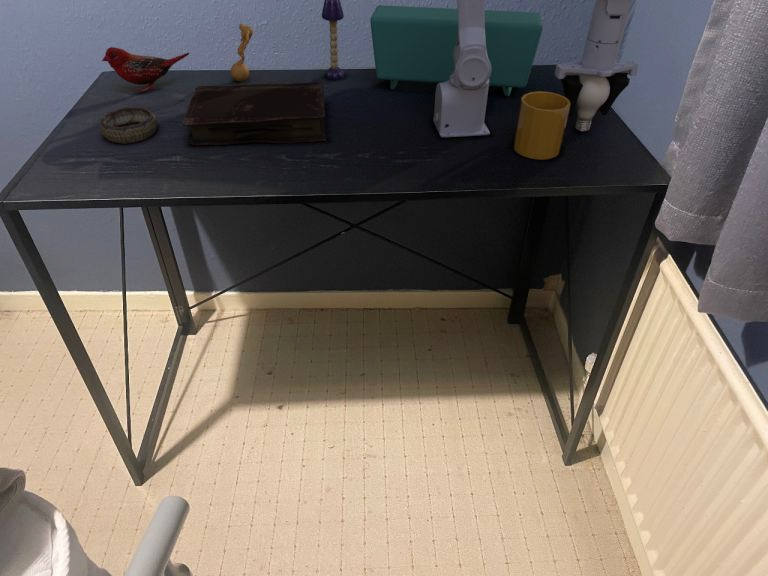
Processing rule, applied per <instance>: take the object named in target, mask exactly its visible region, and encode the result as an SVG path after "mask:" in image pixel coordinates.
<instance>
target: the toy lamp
mask: <svg viewBox="0 0 768 576" xmlns="http://www.w3.org/2000/svg"><path fill="white" fill-rule="evenodd" d="M344 17H345V14H344V10H343V7H342V3H341V0H324V1H323V6H322V11H321V18H322V19H323V20H324V21H328V24H329V32H330V33H329V39H330V40H329V47H330V49H329V52H330V57H329V59H330V67H329V68H328V69H327V70H326V72H325V78H326V79H328V80H333V81H334V80H335V81H336V80H342V79H343V78H345V73H344V70H343V69H342V68H340V67H339V63H338V61H339V56H338V54H339V49H338V45H339V42H338V37H339V35H338V21H341V20H343V19H344Z"/></svg>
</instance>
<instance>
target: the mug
mask: <svg viewBox="0 0 768 576" xmlns="http://www.w3.org/2000/svg"><path fill="white" fill-rule="evenodd" d="M570 105H571V103H570V101H569V99H567V98H566V97H565V95H562V94H560V93H557V92H556V93H555V92H550V91H541V90H540V91H539V90H538V91H530V92H528V93H525V94H523V95H522V97H521V98H520V103H519V109H518V116H517V122H516V127H515V133H514V138H513V139H514V140H513V149H514V151H515V152H516V153H517V154H519V155H520V156H522V157H525V158H528V159H532V160H540V161H541V160H542V161H543V160H550V159H553V158H556V157H557V156H559V154H560V151H561V149H562V144H563V140H564V136H565V132H566V127H567V124H568V123H567V122H568V118H569V117H568V114H569V110H570Z"/></svg>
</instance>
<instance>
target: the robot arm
mask: <svg viewBox="0 0 768 576" xmlns="http://www.w3.org/2000/svg"><path fill="white" fill-rule="evenodd" d="M632 2H633V0H595V3H594V6H593V9H592V10H593V11H592V14H591V20H590V22H589V26H588V27H589V28H588V33H587V37H586V40H585V45H584V48H583V53H582V54H583V55H582V58H581V59H580V60H576V61H570V62H565V63H558V64H556V66H555V72H554V76H555V77H556V78H557V79H558V80H560V82H561V85H562V89H563V93H564V95H563V96H564V97H566V98H567V99H569V101H570V103H571V105H570V110H569V114H568V118H573V116H574V114H575V111H576V108H577V104H576V102H577V99H578V96H579V93H580V91H581V89H582V87H583V85H582V84H581V83H580V79H579V78H580V77H582V76H591V75H599V76H602V77H606V78H607V80H608V81H609V84H610V94H609V96H608V98H607V100H606V101H605V103H604V104H603V105H602V106H600V107H599V108H598V112H599V113H600V114H601V115H602V116H607V115H608V113H609V111H610V110H611V107H612V106H613V105H614V103H615V101H616V100H617V98H618V97H619V96H620V95H621V93H622V92H623V91H624V90H626V88H628V86H630V82H631V79H630V78H629V77H628V75H629V76H631V77H633V76H637V73H638V69H639V66H640V65H639V64H638V63H637V62H636V61H634V60H618V59H617V58H618V54H619V52H620V49H621V48H620V47H621V45H622V41H623V38H624V33H625V29H626V25H627V21H628V19H629V14H630V10H631V5H632ZM456 5H457V7H456V9H457V11H458V30H457V36H458V37H457V43H456V45H455V47H454V50H453V60H454V65H455V71H454V72H453V73H452V75H451V76H450V80H448V81H446V82H442V83H436V88H435V96H434V108H433V109H434V112H433V118H432V122H433V123H434V126H435V128H436V130H437V132H438V134H439V137H440V138H457V137H459V138H460V137H473V136H474V137H478V136H489V135H490V134H491V132H490V130H489V128H488V127H487V125H486V123H485V118H486V110H487V104H488V103H487V102H488V94H489V87H490V86H489V77H490V75H491V63H490V61H489V59H488V55H487V48H486V40H485V10H486V6H485V5H486V0H456Z"/></svg>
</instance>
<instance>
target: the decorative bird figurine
mask: <svg viewBox="0 0 768 576" xmlns="http://www.w3.org/2000/svg"><path fill="white" fill-rule="evenodd" d="M189 55H191V54H190V52H186V53H183V54H181V55H180V54H179V55H177V56H174V57H172V58H169V59H166V58H162V57H158V56H152V55H151V56H150V55H141V54H140V55H139V54H132V53H130V52H128V51H126V50H125V49H123V48H119V47H114V46H111V47H108V48H107V49H106V51H105V55H104V56H103V58H102V60H101V61H102V62H107V63H108V65H109V66H110V68H111V69H113V70H114V72H115V73H116V75H118V76H119V77H120V78H121V79H122V80H124V81H126V82H127V83H129V84H133V85H141V86H142V85H143V86H145V85H147V86H145V87H143V88H140V89H139V90H135V91H133V92H132V93H141V94H143V93H145V92H148V91H154V90H155V89H158V87H157V86H154V84H155V82H156V81H158V80H159V79H160V78H162V77H164V76H165V75H166V74H168V71H170V69H171V68H172V66H174V65H175V64H176V63H178V62H180V61H181V60H183V59H184V58H186V57H188V56H189Z"/></svg>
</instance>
